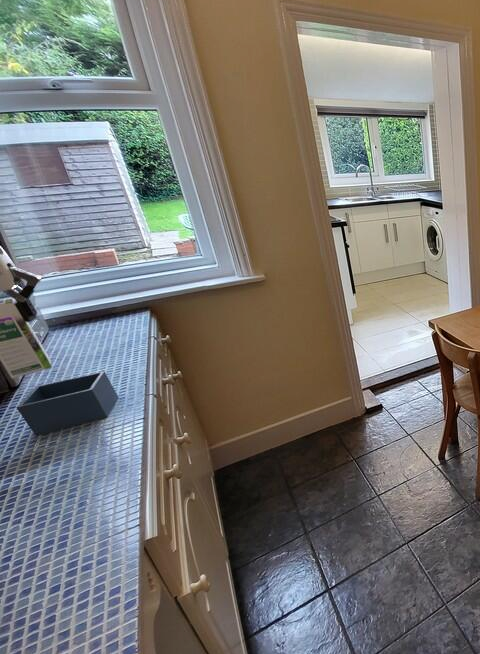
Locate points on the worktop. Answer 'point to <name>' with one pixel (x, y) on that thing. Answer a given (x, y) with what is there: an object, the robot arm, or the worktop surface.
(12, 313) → the syrup box
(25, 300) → the robot arm
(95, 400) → the tub
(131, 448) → the worktop surface
